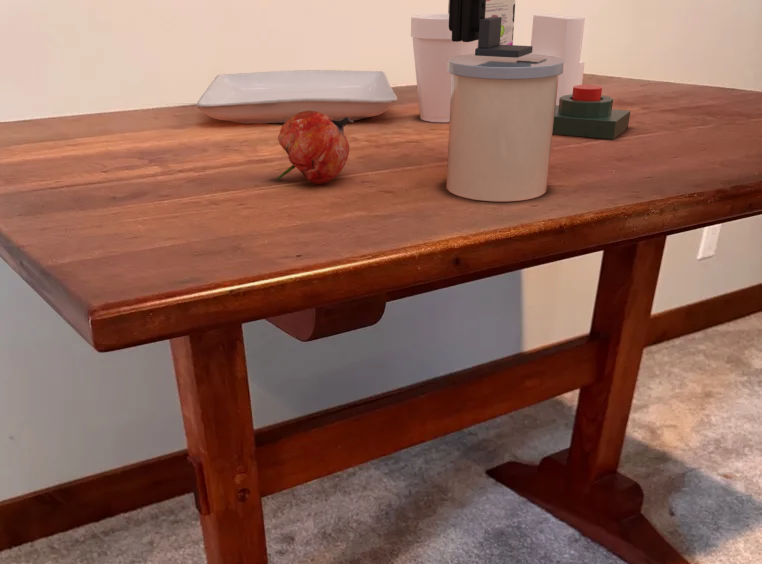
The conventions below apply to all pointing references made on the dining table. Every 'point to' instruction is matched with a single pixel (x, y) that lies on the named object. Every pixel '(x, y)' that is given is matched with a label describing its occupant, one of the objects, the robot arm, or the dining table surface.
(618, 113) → the box
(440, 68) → the foam cup
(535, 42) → the white tapered box
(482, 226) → the dining table surface
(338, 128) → the pomegranate
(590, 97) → the button
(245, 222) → the dining table surface
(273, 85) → the square plate
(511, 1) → the candy bar box
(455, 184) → the travel mug
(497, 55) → the slider
